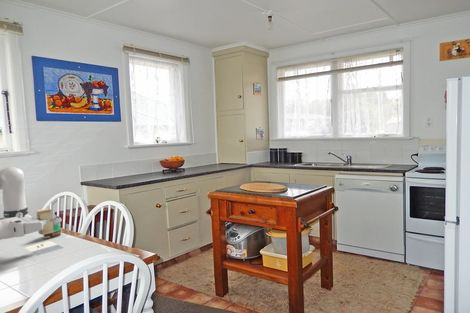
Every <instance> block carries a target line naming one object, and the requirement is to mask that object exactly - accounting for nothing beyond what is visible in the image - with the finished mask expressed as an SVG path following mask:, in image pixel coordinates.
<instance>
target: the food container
mask: <svg viewBox="0 0 470 313" xmlns="http://www.w3.org/2000/svg"><path fill="white" fill-rule="evenodd" d="M62 221H63V220H62V218H61V216H59V215H56V216H55V218H52V222H53V231H54V232H52V233H48V234H44V235H43V239H44V240H49V239H55V238H58V237H60V236H61V230H62V228H61V222H62Z"/></svg>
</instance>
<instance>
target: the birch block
mask: <svg viewBox="0 0 470 313" xmlns="http://www.w3.org/2000/svg"><path fill="white" fill-rule="evenodd" d="M35 214H36V218H37V220H40V221H42V220H45V219H49V220H50V223H47V224H45V225H43V229H42V230H39V231H37V232H38V234H39V235H41V236H42V235H43V236H44V234H48V233H52V232H54V231H53V222H52V219H53V214H52V209H51V208H43V209H42V208H41V209H38V210H36V212H35Z"/></svg>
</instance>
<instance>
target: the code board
mask: <svg viewBox="0 0 470 313" xmlns="http://www.w3.org/2000/svg"><path fill="white" fill-rule="evenodd" d="M24 249H26V250H27V251H29V252H31V253H33V254H34V255H36V256H40V255H44V254H47V253H50V252H54V251H59V250H61V249H65V247H64V246H62V245H59V244H57V243H55V242H54V241H51V240H49V241H44V242H40V243H36V244H33V245H30V246H26V247H24Z"/></svg>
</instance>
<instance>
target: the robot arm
mask: <svg viewBox="0 0 470 313" xmlns="http://www.w3.org/2000/svg"><path fill="white" fill-rule="evenodd" d="M25 176H26V175H25V173H24V171H23V170H22V169H21V168H20V167H15V166H5V167H3V168H0V191H2V204H3V219H0V240H7V239H12V238H13V239H14V238H22V237H25V235H29V234H33V233H35V232H38V231H39V230H42V229H43V225H45V224H47V223H50V220H49V219H45V220H42V221H40V220H37V217H32V215H30V214H29V209H28V206H27V199H26V198H27V197H26V177H25Z"/></svg>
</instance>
